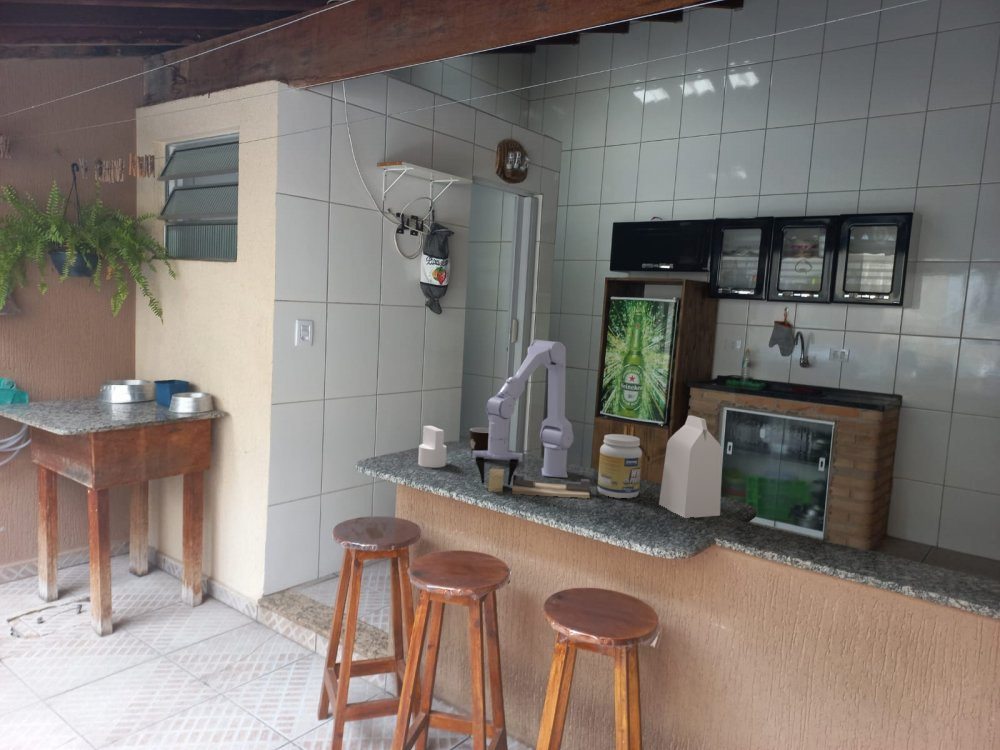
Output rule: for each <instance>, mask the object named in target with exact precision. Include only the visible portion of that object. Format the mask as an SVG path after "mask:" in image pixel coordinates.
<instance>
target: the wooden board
mask: <svg viewBox="0 0 1000 750" xmlns="http://www.w3.org/2000/svg"><path fill="white" fill-rule="evenodd" d="M520 494H524V495H523V496H536V495H539V496H542V497H553V496H558V497H557V498H570V497H578V498H577V499H587V498H589V499H590V497H591V496H590V491H589V492H588V491H575V490H566V483H549V482H548V483H546V482H535V487H534V488H530V487H524V486H516V485H513V484H512V495H520ZM539 496H538V497H539ZM580 497H581V498H580Z"/></svg>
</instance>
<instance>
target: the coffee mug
mask: <svg viewBox="0 0 1000 750" xmlns="http://www.w3.org/2000/svg"><path fill="white" fill-rule="evenodd" d="M469 435H470V439H469V440H470V449H471V455H472V453H473V451H488V438H489V427H473V428H470V429H469ZM485 460H487V461H490V460H489V459H485Z"/></svg>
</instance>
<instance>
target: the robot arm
mask: <svg viewBox="0 0 1000 750" xmlns="http://www.w3.org/2000/svg"><path fill="white" fill-rule="evenodd" d="M566 356H567V348H566V346H565V345H564V344H563V343H562V342H560V341H552V340H551V341H549V340H541V339H537V338H536V339H533V341H532V342H531V343H530V344H529V346H528V347H527V355H526V357H525V358H524V361H523V362H522V364H521V365H520V367H519V369H518V370H517V372H516V374H515V375H514V376H510V377H508V378H507V379H506V380H505V383H504V384H503V386H502V387H501V388H500V390H499V391H498V393H496V395H495V396H494V395H493V396H492V397H491V398H489V399H488V401H487V403H486V405H485V412H486V413H487V420H488V421H489V422H488V428H489V438H488V451H473V453H472V454H471V459H472V458H473V459H476V460H475V464H476V466H477V468H478V471H479V474H480V479H481V484H483V485H484V484H485V464H486V461H485V459H490V460H499V461H500V460H501V461H502V460H503V461H504V460H505V461H509V467H508V479H507V486H511V481H512V480H513V475H514V474H515V471H516V469H517V467H518V465H519V462H523V453H522V452H521V453H520V452H511V451H508V447H509V446H508V445H509V430H510V429H509V427H510V426H509V425H510V418H511V417H512V415H513V414H514V412H515V407H516V405H517V401H518V400H519V398H520V396H521V395H522V393H523V392H524V391H525V389H526V385H525V383H526V382H527V380H528V379H529V378H530V377H531V375H532V374H533V373H534V372H535V370H537V368H538V367H539V366H544V367H546V368H547V372H548V373H547V374H548V375H547V417H546V418H545V419H544V420H543V421H542V422H541V429H540V432H539V440H540V441H541V442H542V446H544V454H543V467H541V476H542V477H547V478H548V477H552V478H568V472H567V459H568V449H570V447H571V445H572V444H573V442H574V432H573V425H572V423H571V422H570V421H569V420H568V419H567V418H566V417H565V416H566V364H567V363H566V360H567V359H566ZM473 459H472V460H473Z"/></svg>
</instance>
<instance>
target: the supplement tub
mask: <svg viewBox="0 0 1000 750" xmlns="http://www.w3.org/2000/svg"><path fill="white" fill-rule="evenodd" d="M603 437H604V438H603V444H601V446H600V449H599V460H598V461H599V463H598V476H597V491H598V492H599V494H601V495H603V496H605V497H608V496H609V497H610V498H613V497H614V498H613V499H621V498H627V499H633V497H634V498H636V497H638V496H639V492H640V483H641V473H642V472H641V471H642V458H643V450H642V448H641V447H639V446H640V445H641V439H640V438H639V437H637V436H634V435H631V434H629V435H628V434H619V433H610V434H605V435H604V436H603Z"/></svg>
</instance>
